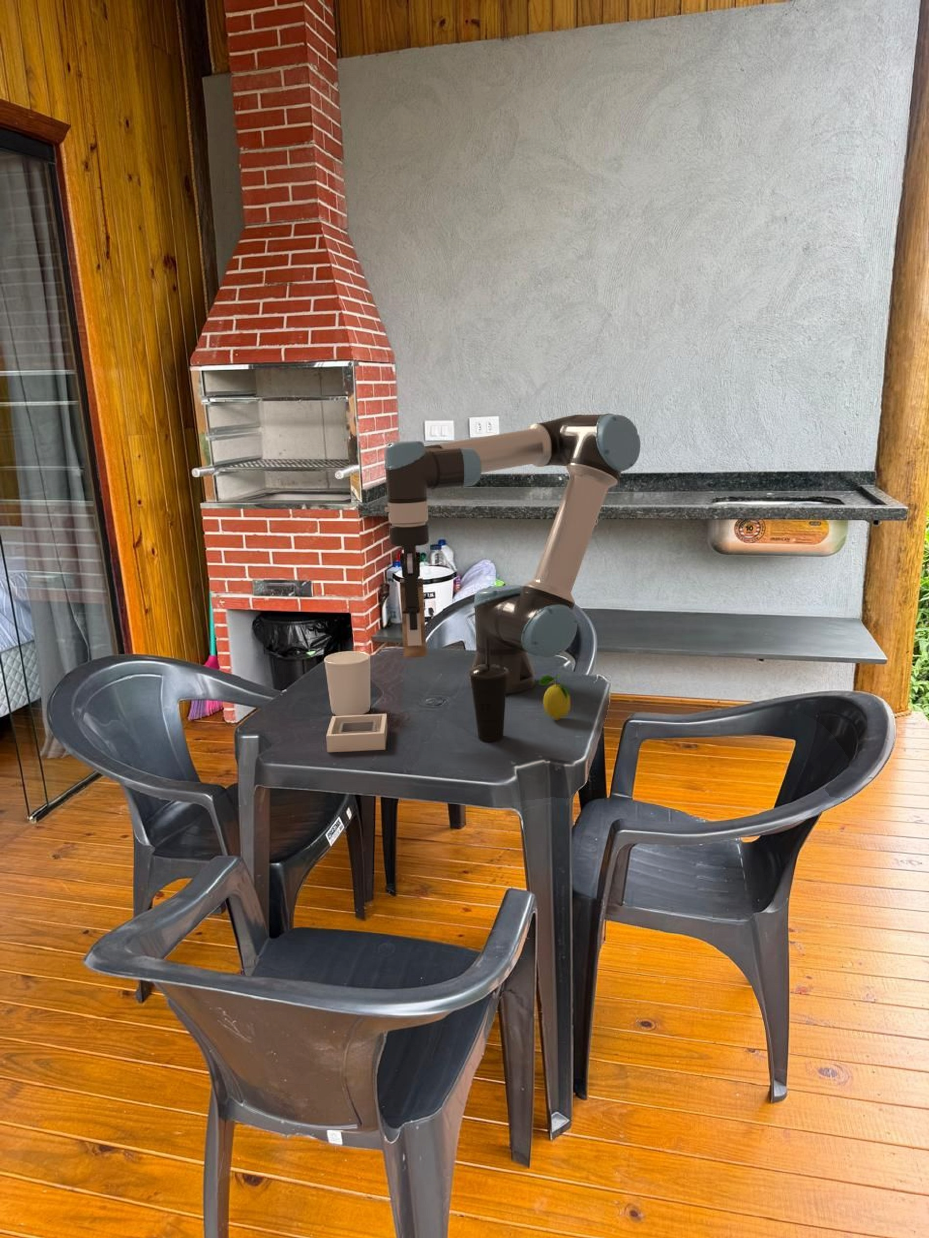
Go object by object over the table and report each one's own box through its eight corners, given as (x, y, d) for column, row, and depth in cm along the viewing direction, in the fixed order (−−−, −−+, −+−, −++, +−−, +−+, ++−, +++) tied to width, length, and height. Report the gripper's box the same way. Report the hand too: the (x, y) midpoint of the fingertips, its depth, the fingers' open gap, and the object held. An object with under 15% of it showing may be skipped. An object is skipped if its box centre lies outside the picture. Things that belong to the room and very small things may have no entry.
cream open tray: (387, 728, 180) (386, 713, 179) (385, 749, 169) (384, 733, 168) (333, 731, 179) (332, 716, 179) (327, 752, 169) (326, 736, 168)
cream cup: (365, 719, 186) (361, 664, 183) (321, 717, 188) (317, 663, 185) (379, 703, 195) (376, 651, 192) (337, 702, 197) (333, 650, 194)
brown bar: (426, 651, 176) (422, 578, 173) (426, 656, 173) (422, 581, 169) (404, 652, 176) (400, 579, 173) (404, 657, 173) (399, 582, 169)
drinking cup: (471, 730, 177) (467, 634, 172) (509, 730, 177) (507, 633, 172) (470, 745, 170) (466, 644, 165) (510, 744, 169) (507, 643, 164)
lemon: (539, 715, 184) (538, 669, 182) (566, 713, 185) (566, 667, 182) (544, 726, 178) (543, 679, 175) (573, 724, 178) (573, 677, 176)
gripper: (390, 519, 176) (397, 632, 182) (386, 530, 160) (394, 654, 166) (428, 517, 177) (433, 630, 182) (428, 529, 161) (434, 652, 166)
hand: (414, 641), depth 174 cm, fingers closed on brown bar, 3 cm apart
